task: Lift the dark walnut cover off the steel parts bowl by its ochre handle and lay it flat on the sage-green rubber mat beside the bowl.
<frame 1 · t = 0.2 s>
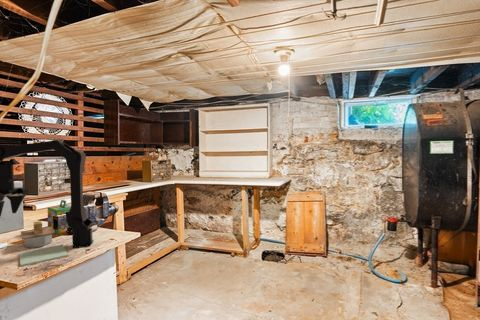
hand: (6, 216, 106), 14 cm above the workbench, tool pointing down, fingers open, 9 cm apart
bowl: (38, 243, 115), on the workbench
cover: (38, 233, 115), point 4 cm above the workbench, touching bowl
mat: (43, 255, 103), on the workbench
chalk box: (62, 230, 134), on the workbench
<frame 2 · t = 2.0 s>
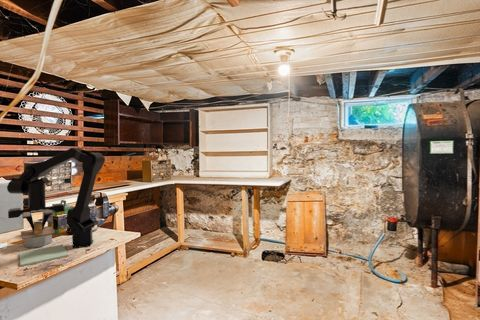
hand: (38, 230, 114), 6 cm above the workbench, tool pointing down, fingers closed on cover, 3 cm apart
cover: (38, 233, 115), point 5 cm above the workbench, touching bowl, gripper
everything else where it was.
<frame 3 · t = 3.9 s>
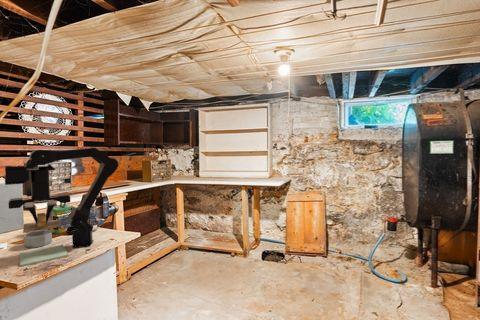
hand: (41, 222, 104), 12 cm above the workbench, tool pointing down, fingers closed on cover, 3 cm apart
cover: (41, 226, 104), point 11 cm above the workbench, touching gripper
everything else where it was.
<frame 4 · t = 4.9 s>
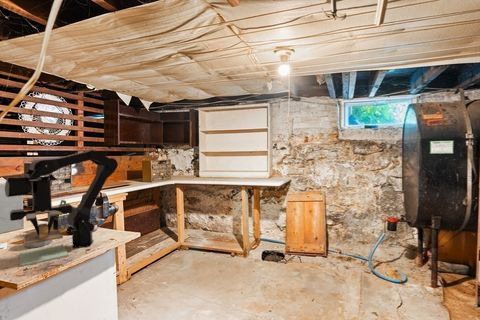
hand: (43, 233, 103), 8 cm above the workbench, tool pointing down, fingers closed on cover, 3 cm apart
cover: (43, 237, 103), point 7 cm above the workbench, touching gripper
everything else where it was.
when the fingers open (4 cm above the workbench, at t = 5.9 s): cover drops 2 cm, resting on mat.
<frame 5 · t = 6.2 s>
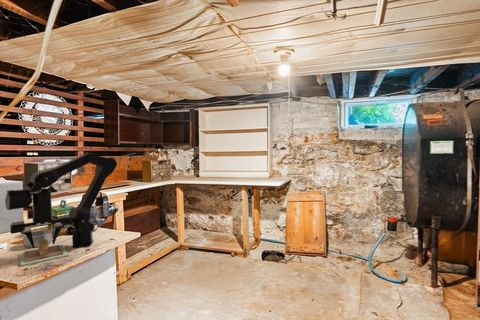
hand: (43, 245, 103), 4 cm above the workbench, tool pointing down, fingers open, 6 cm apart
cover: (43, 253, 103), point 1 cm above the workbench, touching mat
everything else where it was.
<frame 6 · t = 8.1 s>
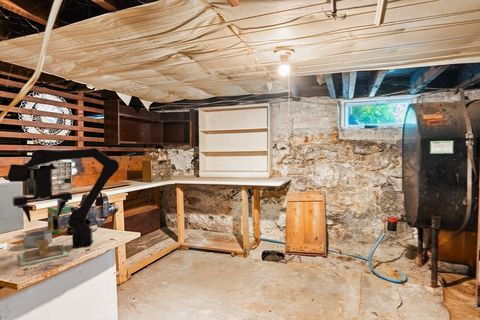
hand: (44, 219, 108), 12 cm above the workbench, tool pointing down, fingers open, 9 cm apart
nothing on the workbench moved.
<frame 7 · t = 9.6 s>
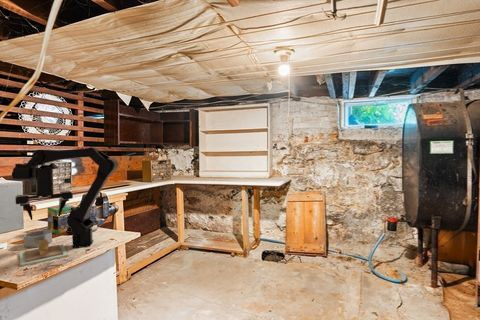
hand: (45, 217, 111), 12 cm above the workbench, tool pointing down, fingers open, 9 cm apart
nothing on the workbench moved.
at the end: cover 0.0 cm off-centre on the mat, point 0.6 cm above the mat's base; cover tilted 0°; the gripper is holding nothing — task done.
